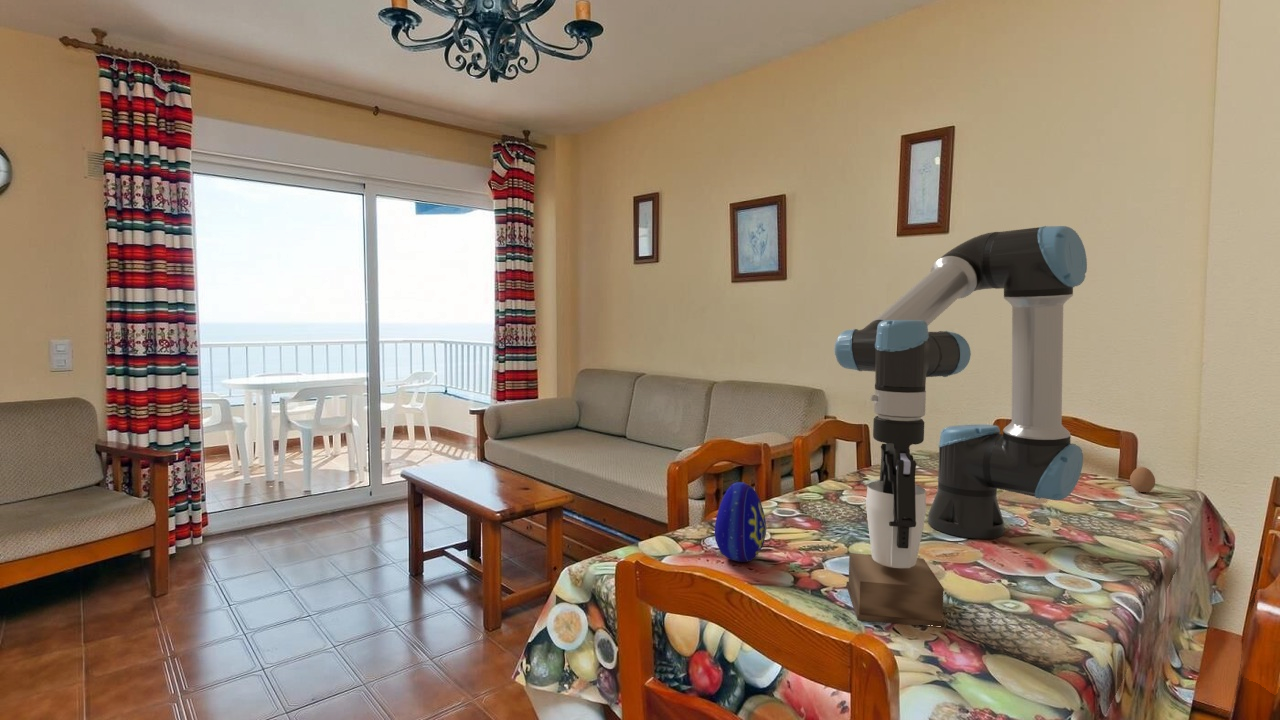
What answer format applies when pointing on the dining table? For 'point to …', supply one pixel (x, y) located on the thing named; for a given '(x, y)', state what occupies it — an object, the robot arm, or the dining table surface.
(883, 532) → the cup
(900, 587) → the riser
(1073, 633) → the dining table surface
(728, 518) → the ornament
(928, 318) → the robot arm
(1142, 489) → the egg
